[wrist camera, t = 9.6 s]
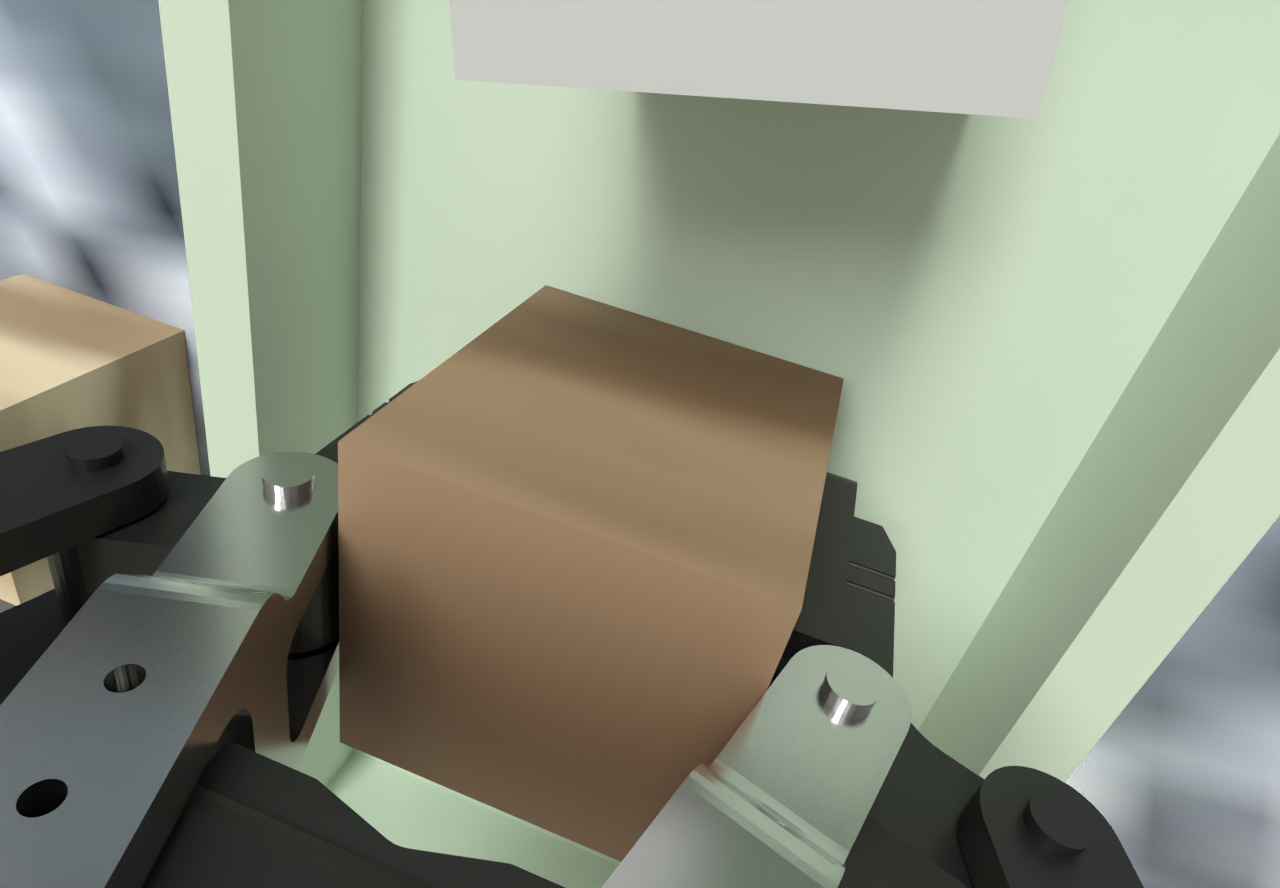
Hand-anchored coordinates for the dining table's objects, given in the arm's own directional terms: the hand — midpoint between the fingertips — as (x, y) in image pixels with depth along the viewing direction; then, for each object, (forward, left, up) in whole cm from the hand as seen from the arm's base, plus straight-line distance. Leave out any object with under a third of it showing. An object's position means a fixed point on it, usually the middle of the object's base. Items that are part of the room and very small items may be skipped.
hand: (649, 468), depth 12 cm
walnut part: (0, 0, 0) cm, 0 cm away
